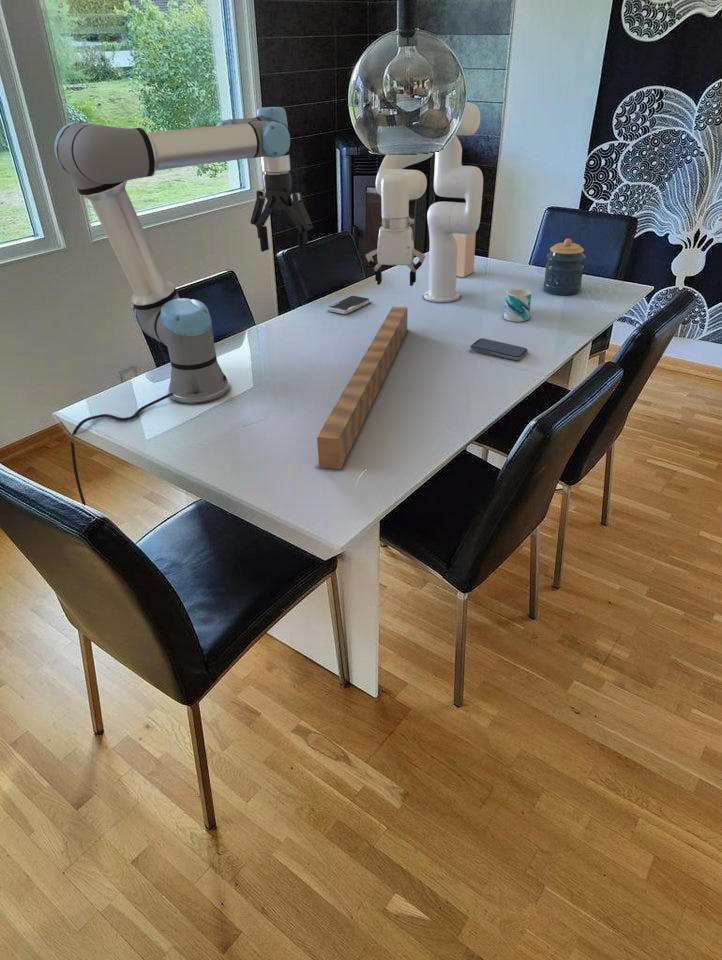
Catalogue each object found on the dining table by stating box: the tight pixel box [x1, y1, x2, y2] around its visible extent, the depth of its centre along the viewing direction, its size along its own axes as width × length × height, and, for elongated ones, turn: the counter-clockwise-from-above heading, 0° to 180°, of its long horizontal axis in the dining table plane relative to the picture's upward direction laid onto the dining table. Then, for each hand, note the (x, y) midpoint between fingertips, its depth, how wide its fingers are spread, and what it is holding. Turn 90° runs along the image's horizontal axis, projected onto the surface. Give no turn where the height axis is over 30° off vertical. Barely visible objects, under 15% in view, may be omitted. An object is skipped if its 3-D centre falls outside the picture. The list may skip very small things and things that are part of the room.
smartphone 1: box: [327, 295, 370, 315], centre depth 231 cm, size 8×1×15 cm
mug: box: [503, 287, 532, 323], centre depth 216 cm, size 8×12×8 cm
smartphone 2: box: [470, 337, 528, 361], centre depth 193 cm, size 8×2×15 cm
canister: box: [543, 238, 586, 296], centre depth 234 cm, size 13×13×18 cm
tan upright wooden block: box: [452, 231, 477, 278], centre depth 256 cm, size 13×9×22 cm
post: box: [316, 306, 408, 470], centre depth 175 cm, size 84×5×8 cm, turn 167°
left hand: (283, 253), depth 192 cm, fingers open, 13 cm apart
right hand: (395, 284), depth 196 cm, fingers open, 9 cm apart
